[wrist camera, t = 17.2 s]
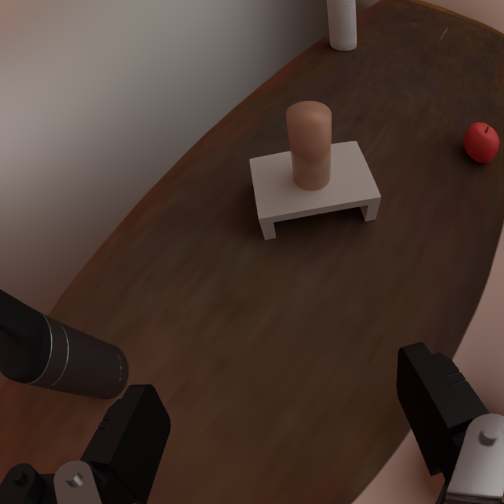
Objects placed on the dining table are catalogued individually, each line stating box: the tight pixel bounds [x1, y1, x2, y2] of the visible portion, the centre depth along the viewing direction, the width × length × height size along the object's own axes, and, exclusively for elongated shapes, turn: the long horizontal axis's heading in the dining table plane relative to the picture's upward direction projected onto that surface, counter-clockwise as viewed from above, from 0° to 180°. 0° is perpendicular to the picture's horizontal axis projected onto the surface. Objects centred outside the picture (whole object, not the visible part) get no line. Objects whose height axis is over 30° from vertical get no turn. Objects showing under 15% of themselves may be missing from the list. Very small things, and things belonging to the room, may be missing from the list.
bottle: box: [327, 0, 357, 51], centre depth 62 cm, size 8×8×30 cm
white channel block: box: [249, 141, 381, 240], centre depth 49 cm, size 18×12×6 cm, turn 97°
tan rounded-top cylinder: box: [286, 101, 331, 191], centre depth 41 cm, size 6×6×12 cm
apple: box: [464, 122, 500, 163], centre depth 47 cm, size 8×8×8 cm
